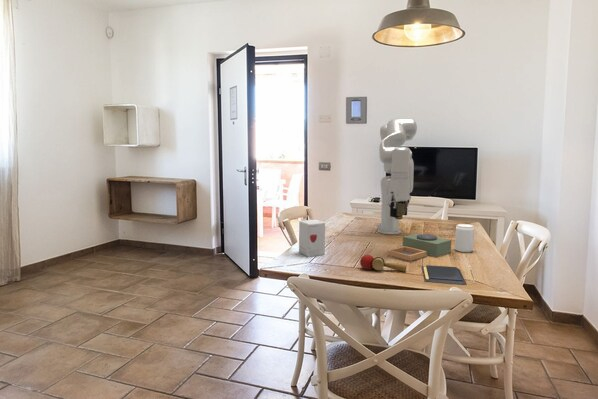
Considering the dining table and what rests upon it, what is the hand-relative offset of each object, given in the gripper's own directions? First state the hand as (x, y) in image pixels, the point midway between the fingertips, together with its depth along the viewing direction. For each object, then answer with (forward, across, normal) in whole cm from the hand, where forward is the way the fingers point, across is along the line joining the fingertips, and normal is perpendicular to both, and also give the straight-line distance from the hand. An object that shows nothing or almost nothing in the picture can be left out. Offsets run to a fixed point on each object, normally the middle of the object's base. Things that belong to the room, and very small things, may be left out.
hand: (398, 215), depth 186 cm
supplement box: (+18, +29, -26) cm, 43 cm away
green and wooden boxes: (+18, -8, +5) cm, 20 cm away
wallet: (+19, +10, +29) cm, 36 cm away
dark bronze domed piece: (+2, 0, 0) cm, 2 cm away
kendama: (+18, +22, +10) cm, 31 cm away
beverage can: (+18, -30, +15) cm, 38 cm away
